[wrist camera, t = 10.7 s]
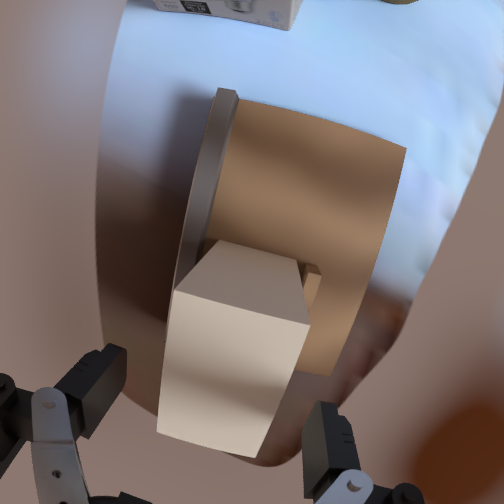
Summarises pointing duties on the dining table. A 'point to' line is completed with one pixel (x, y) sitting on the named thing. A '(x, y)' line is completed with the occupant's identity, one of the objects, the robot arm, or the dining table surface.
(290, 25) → the light bulb box
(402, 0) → the squeeze bottle
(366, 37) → the dining table surface
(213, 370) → the carton
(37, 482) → the robot arm
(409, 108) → the dining table surface
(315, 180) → the brown panel with ledge
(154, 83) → the dining table surface
